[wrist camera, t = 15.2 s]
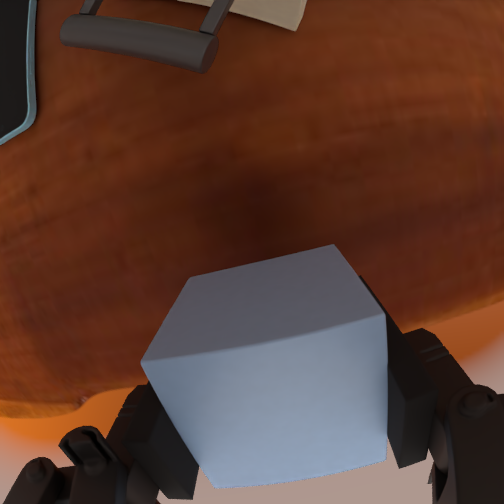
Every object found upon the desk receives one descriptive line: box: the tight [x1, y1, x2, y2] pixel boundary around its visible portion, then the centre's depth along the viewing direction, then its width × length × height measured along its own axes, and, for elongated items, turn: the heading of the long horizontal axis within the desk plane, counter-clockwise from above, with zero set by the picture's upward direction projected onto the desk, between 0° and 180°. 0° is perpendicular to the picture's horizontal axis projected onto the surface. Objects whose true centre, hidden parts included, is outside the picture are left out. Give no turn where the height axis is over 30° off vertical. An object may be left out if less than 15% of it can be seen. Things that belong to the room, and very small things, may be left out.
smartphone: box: [0, 0, 37, 145], centre depth 14 cm, size 7×1×15 cm
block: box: [141, 244, 388, 488], centre depth 10 cm, size 6×6×6 cm
